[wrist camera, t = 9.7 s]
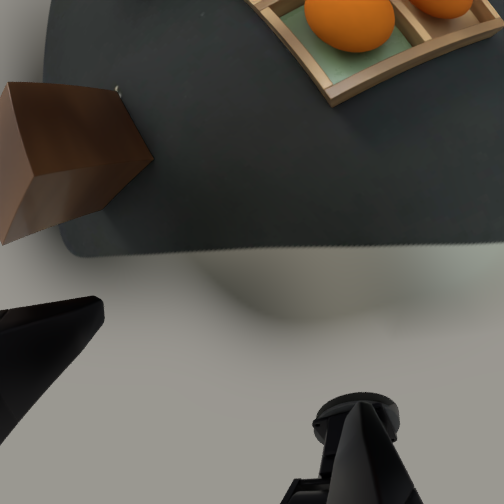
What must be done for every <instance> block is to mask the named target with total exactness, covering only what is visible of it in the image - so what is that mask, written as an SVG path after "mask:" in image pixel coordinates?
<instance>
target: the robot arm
mask: <svg viewBox="0 0 504 504" xmlns="http://www.w3.org/2000/svg"><path fill="white" fill-rule="evenodd" d="M104 319H105V317H104V304H103V301H102V300H101V299H99V298H98V297H96V296H87V297H81V298H75V299H69V300H63V301H57V302H51V303H44V304H38V305H32V306H26V307H19V308H13V309H9V310H8V309H6V310H0V445H1V444H2V442H3V441H4V440H5V439H6V437H7V436H8V435H9V434H10V433H11V431H12V430H13V429H14V428H15V426H16V425H17V424H18V422H19V421H20V420H21V419H22V418H23V417H24V415H25V414H26V413H27V412H28V410H30V408H31V407H32V406H33V405H34V404H35V403H36V402H37V400H38V399H39V398H40V397H41V396H42V395H43V393H44V392H45V391H46V390H47V389H48V388H49V387H50V385H52V383H53V382H54V381H55V380H56V379H57V378H58V377H59V376H60V375H61V374H62V372H63V371H64V370H65V369H66V368H67V367H68V366H69V365H70V364H71V363H72V362H73V361H74V359H75V358H76V357H77V356H78V355H79V354H80V353H81V352H82V350H83V349H84V348H85V347H86V345H87V344H88V342H89V341H90V340H91V339H92V337H93V336H94V335H95V333H96V332H97V331H98V330H99V328H100V327H101V326H102V324H103V323H104ZM312 426H313V427H314V429H315V430H316V431H317V433H318V434H319V435H320V436H321V438H322V439H323V440H324V442H325V443H324V449H323V455H322V460H321V466H320V471H319V476H318V478H317V479H301V478H299V479H294V480H293V482H292V484H291V486H290V487H289V489H288V491H287V493H286V494H285V496H284V498H283V500H282V501H281V503H280V504H423V502H422V500H421V498H420V496H419V494H418V492H417V490H416V488H414V484H413V482H412V481H411V479H410V476H409V474H408V472H407V470H406V469H405V466H404V465H403V463H402V461H401V459H400V457H399V455H398V453H397V451H396V449H395V447H394V445H393V442H395V441H397V434H396V432H395V430H394V428H393V426H392V423H391V421H390V419H389V417H388V415H387V413H386V410H385V408H384V406H383V404H382V403H380V402H377V403H373V404H371V403H368V402H364V401H358V402H357V403H356V404H355V406H354V407H353V408H352V410H350V411H346V412H343V413H339V414H335V415H331V416H327V417H323V418H318V419H315V420H314V421H313V423H312Z"/></svg>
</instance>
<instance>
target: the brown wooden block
mask: <svg viewBox="0 0 504 504" xmlns="http://www.w3.org/2000/svg"><path fill="white" fill-rule="evenodd" d="M152 160H154V158H153V157H152V155H151V153H150V151H149V150H148V148H147V146H146V144H145V143H144V141H143V139H142V137H141V135H140V134H139V132H138V130H137V128H136V126H135V125H134V123H133V121H132V119H131V117H130V116H129V114H128V112H127V110H126V108H125V106H124V105H123V103H122V101H121V99H120V97H119V95H118V93H117V92H116V91H111V90H104V89H98V88H90V87H82V86H73V85H63V84H50V83H32V82H7V84H6V86H5V88H4V91H3V92H2V95H1V97H0V241H1V243H2V245H5V244H8V243H10V242H13V241H15V240H18V239H20V238H23V237H25V236H28V235H30V234H33V233H36V232H38V231H41V230H44V229H46V228H49V227H52V226H54V225H57V224H60V223H63V222H66V221H69V220H72V219H75V218H78V217H81V216H84V215H87V214H90V213H93V212H96V211H99V210H102V209H103V208H104V207H105V206H106V205H107V204H108V203H109V202H110V201H111V200H112V199H113V198H114V197H115V196H116V195H117V194H118V193H119V192H120V191H121V190H122V189H123V188H124V187H125V186H126V185H127V184H128V183H129V182H130V181H131V180H132V179H133V178H134V177H135V176H136V175H137V174H138V173H139V172H140V171H142V170H143V169H144V168H145V167H146V166H147V165H148V164H149V163H150V162H151V161H152Z"/></svg>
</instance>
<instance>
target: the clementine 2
mask: <svg viewBox="0 0 504 504" xmlns="http://www.w3.org/2000/svg"><path fill="white" fill-rule="evenodd" d="M409 1H410V2H411V3H412V4H413V5H414V6H415V7H417V8H418V9H419V10H421V11H423V12H424V13H426V14H428V15H431V16H434V17H437V18H442V19H454V18H458V17H461V16H463V15H464V14H466V13H467V12H468V11H469V9H470V8H471V6H472V2H473V0H409Z"/></svg>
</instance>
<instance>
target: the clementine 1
mask: <svg viewBox="0 0 504 504" xmlns="http://www.w3.org/2000/svg"><path fill="white" fill-rule="evenodd" d="M304 12H305V17H306V20H307V22H308V24H309V26H310V28H311V29H312V31H313V32H314V33H315V34H316V35H317V36H318V37H319V38H320V39H321V40H322V41H323V42H325V43H326V44H328V45H330V46H332V47H334V48H336V49H339V50H342V51H347V52H366V51H371V50H373V49H376V48H378V47H379V46H381V45H382V44H384V43H385V42H386V41H387V40H388V39H389V37H390V36H391V34H392V32H393V29H394V25H395V15H394V10H393V7H392V5H391V3H390V1H389V0H305V4H304Z"/></svg>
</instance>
